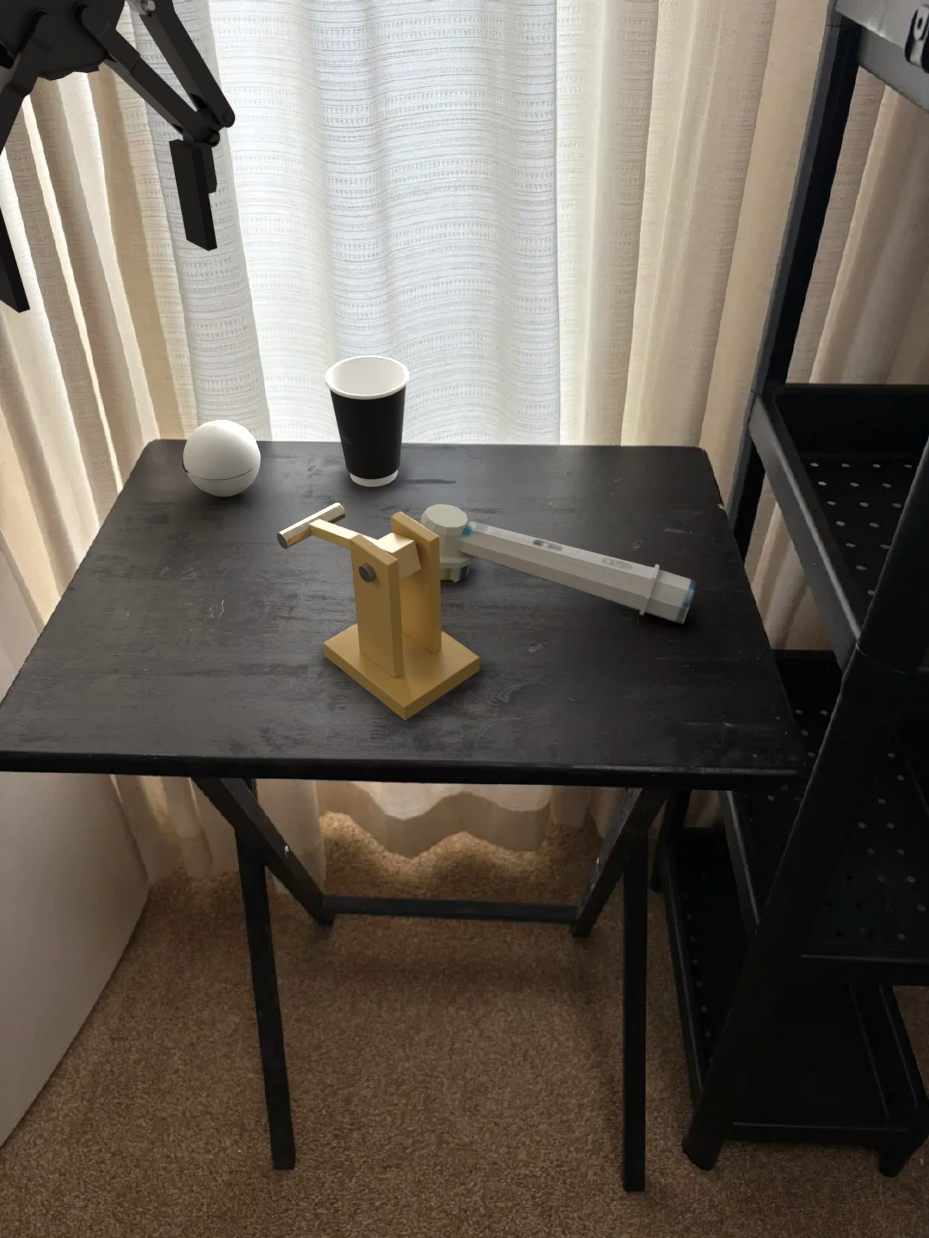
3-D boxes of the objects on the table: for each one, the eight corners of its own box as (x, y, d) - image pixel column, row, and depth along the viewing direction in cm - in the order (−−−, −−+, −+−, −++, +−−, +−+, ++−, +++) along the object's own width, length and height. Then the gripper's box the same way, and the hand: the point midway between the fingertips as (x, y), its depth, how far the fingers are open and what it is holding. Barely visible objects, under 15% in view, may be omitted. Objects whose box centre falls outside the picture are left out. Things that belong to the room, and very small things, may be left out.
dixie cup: (428, 468, 106) (426, 370, 99) (378, 505, 101) (372, 405, 94) (369, 443, 110) (362, 347, 102) (318, 478, 105) (307, 379, 98)
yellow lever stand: (324, 656, 86) (308, 530, 77) (398, 611, 90) (391, 487, 81) (405, 720, 80) (397, 593, 72) (479, 670, 84) (481, 544, 76)
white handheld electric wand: (691, 603, 84) (403, 512, 88) (669, 660, 89) (396, 571, 93) (701, 565, 88) (424, 479, 92) (680, 621, 93) (416, 537, 96)
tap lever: (280, 552, 85) (272, 525, 84) (338, 521, 88) (331, 495, 87) (379, 593, 76) (372, 564, 75) (440, 557, 79) (434, 529, 78)
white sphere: (206, 465, 107) (193, 402, 102) (275, 473, 106) (266, 409, 101) (166, 522, 99) (150, 457, 95) (240, 532, 98) (228, 466, 93)
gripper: (-209, -89, 46) (-49, 355, 60) (261, -138, 59) (301, 237, 73) (-262, -107, 50) (-102, 313, 64) (188, -149, 63) (239, 208, 77)
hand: (113, 273), depth 68 cm, fingers open, 13 cm apart
